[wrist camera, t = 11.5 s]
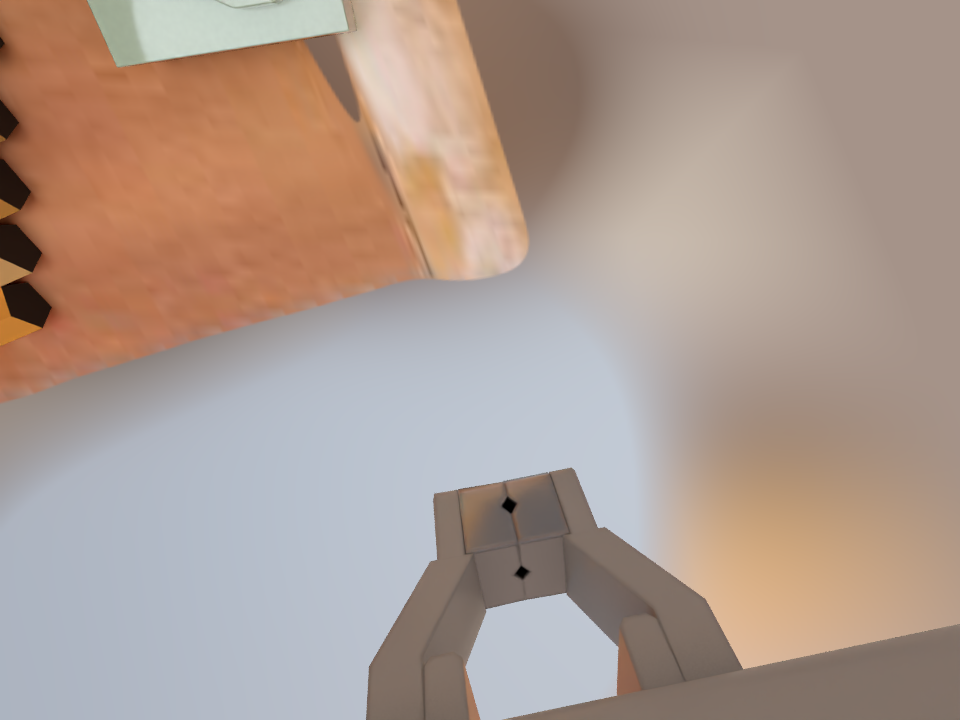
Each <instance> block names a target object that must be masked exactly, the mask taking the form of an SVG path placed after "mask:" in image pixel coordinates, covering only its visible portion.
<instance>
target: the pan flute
mask: <svg viewBox="0 0 960 720" xmlns="http://www.w3.org/2000/svg"><path fill="white" fill-rule="evenodd" d="M4 44H5V43H4V42H3V41H2V39H1V38H0V48H1V47H2V46H3V45H4ZM18 123H19V122H18V121H17V120H16V119H15V117H14V116H13V115H12V114H11V112H10V111H9V110H8V109H7V108H6V106H5V105H4V104H3V103H2V101H1V100H0V142H2V141H4V140H6V139H7V138H8V137H9V135H10V134H11V133H12V131H13V130H14V129H15V127H16V126H17V124H18ZM30 193H31V191H30V190H29V189H28V188H27V187H26V185H25V184H24V183H23V182H22V181H21V180H20V178H19V177H18V176H17V175H16V174H15V173H14V171H13V170H12V169H11V168H10V167H9V166H8V165H7V163H6V162H5V161H4V160H2V159H0V219H2V218H4V217H6V216H9V215H11V214H13V213H15V212H18V211H20V210H21V208H22V206H23V205H24V203H25V201H26V200H27V198H28V196H29V195H30ZM41 254H42V252H41V251H40V250H39V249H38V248H37V247H36V246H35V245H34V244H33V243H32V242H31V240H30V239H29V238H28V237H27V236H26V235H25V234H24V233H23V232H22V231H21V230H20V228H19V227H18V226H17V225H0V346H2V345H4V344H6V343H9V342H11V341H13V340H16V339H18V338H21V337H23V336H25V335H28V334H30V333H32V332H35V331H37V330H39V329H42V328H43V326H44V324H45V322H46V319H47V317H48V315H49V312H50V310H51V308H52V307H51V306H50V305H49V304H48V303H47V302H46V301H45V300H44V299H43V298H42V297H41V296H40V295H39V294H38V293H37V292H36V291H35V290H34V289H33V288H32V287H31V286H30V284H29V283H28V282H27V283H21V284H14V285H7V286H3V285H5V284H8V283H10V282H12V281H14V280H17V279H19V278H21V277H24V276H26V275H28V274H30V273H32V272H33V270H34V268H35V266H36V264H37V262H38V260H39V258H40V256H41Z"/></svg>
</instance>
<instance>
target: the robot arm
mask: <svg viewBox="0 0 960 720" xmlns="http://www.w3.org/2000/svg"><path fill="white" fill-rule="evenodd" d="M433 503H434V515H435V531H436V545H437V560H435V561H431V562H430V563H429V565H428V567H427V568H426V570H425V572H424V573H423V575H422V577H421V579H420V580H419V582H418V584H417V585H416V587H415V589H414V591H413V592H412V594H411V596H410V598H409V599H408V601H407V603H406V604H405V606H404V608H403V610H402V611H401V613H400V615H399V616H398V618H397V620H396V621H395V623H394V625H393V627H392V628H391V630H390V632H389V633H388V635H387V637H386V639H385V641H384V642H383V644H382V646H381V647H380V649H379V651H378V652H377V654H376V656H375V657H374V659H373V661H372V663H371V664H370V666H369V679H368V697H367V714H366V720H480V717H479V714H478V710H477V707H476V703H475V700H474V696H473V693H472V689H471V686H470V683H469V679H468V675H467V672H466V668H465V666H466V664H467V661H468V658H469V656H470V653H471V650H472V648H473V645H474V642H475V640H476V637H477V635H478V632H479V629H480V627H481V624H482V621H483V619H484V616H485V613H486V609H488V608H492V607H497V606H500V605H505V604H509V603H514V602H518V601H523V600H527V599H533V598H539V597H545V596H551V595H556V594H562V593H567V595H568V596H569V597H570V598H571V599H572V600H573V601H574V602H575V603H576V604H577V605H578V607H579V608H580V609H582V611H584V613H585V614H586V615H587V616H588V617H589V618H590V619H591V620H592V621H593V622H594V623H595V624H596V625H597V626H598V627H599V628H600V629H601V630H602V631H603V632H604V633H605V634H606V635H607V636H608V637H609V638H610V639H611V640H612V641H613V642H614V643H615V644H616V645H617V646H618V647H619V650H618V677H617V679H618V680H617V695H618V696H614V697H609V698H604V699H600V700H595V701H590V702H585V703H580V704H576V705H571V706H566V707H561V708H557V709H552V710H547V711H542V712H537V713H533V714H528V715H523V716H518V717H514V718H509V719H504V720H960V624H958V625H954V626H949V627H944V628H939V629H934V630H929V631H925V632H920V633H915V634H910V635H906V636H901V637H896V638H892V639H887V640H882V641H877V642H873V643H868V644H863V645H858V646H853V647H849V648H844V649H839V650H835V651H829V652H825V653H820V654H815V655H811V656H806V657H801V658H796V659H791V660H787V661H782V662H777V663H772V664H767V665H763V666H758V667H753V668H748V669H743V668H742V666H741V664H740V663H739V661H738V659H737V657H736V655H735V653H734V651H733V649H732V648H731V646H730V644H729V642H728V640H727V638H726V636H725V635H724V633H723V631H722V629H721V627H720V625H719V623H718V622H717V620H716V618H715V616H714V614H713V612H712V610H711V609H710V607H709V605H708V603H707V601H706V600H705V598H703V597H702V596H700V595H699V594H698V593H696V592H695V591H693V590H692V589H691V588H689V587H688V586H686V585H685V584H683V583H682V582H681V581H679V580H678V579H677V578H675V577H674V576H672V575H671V574H670V573H668V572H667V571H665V570H664V569H663V568H661V567H660V566H658V565H657V564H656V563H654V562H653V561H651V560H650V559H649V558H647V557H646V556H644V555H643V554H642V553H640V552H639V551H637V550H636V549H635V548H633V547H632V546H630V545H629V544H627V543H626V542H625V541H623V540H622V539H621V538H619V537H618V536H616V535H615V534H614V533H612V532H611V531H610V530H608V529H607V528H605V527H604V528H598V527H597V525H596V522H595V520H594V517H593V515H592V512H591V510H590V508H589V505H588V503H587V500H586V497H585V495H584V492H583V490H582V487H581V485H580V482H579V480H578V477H577V476H576V473H575V470H573V469H572V468H567V469H562V470H558V471H552V472H549V473H547V472H546V473H542V474H537V475H532V476H527V477H522V478H517V479H512V480H507V481H503V482H499V483H493V484H487V485H481V486H475V487H469V488H463V489H458V490H454V491H448V492H442V493H437V494H434V499H433Z"/></svg>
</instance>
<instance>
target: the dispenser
mask: <svg viewBox="0 0 960 720" xmlns="http://www.w3.org/2000/svg"><path fill="white" fill-rule="evenodd" d="M87 2H88V4H89V6H90V8H91V10H92V13H93V15H94V17H95V19H96V21H97V24H98V26H99V28H100V30H101V33H102V35H103V37H104V39H105V41H106V44H107V46H108V48H109V50H110V52H111V55H112V57H113V59H114V61H115V63H116V66H117V67H126V66H134V65H142V64H150V63H157V62H165V61H171V60H178V59H184V58H190V57H197V56H203V55H209V54H216V53H222V52H228V51H235V50H241V49H247V48H254V47H260V46H266V45H273V44H279V43H285V42H292V41H298V40H305V39H310V38H317V37H323V36H330V35H336V34H343V33H349V32H355V31H357V26H356V22H355V17H354V12H353V8H352V3H351V0H87Z"/></svg>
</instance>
